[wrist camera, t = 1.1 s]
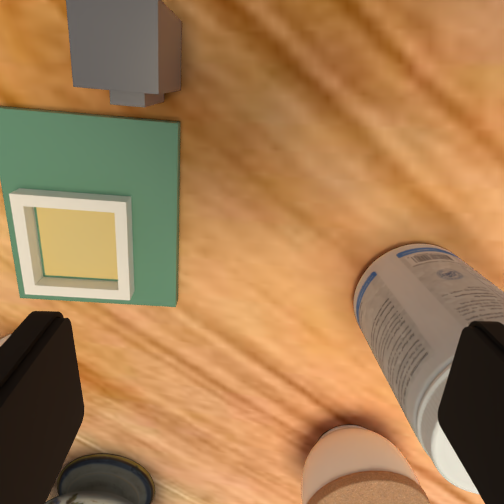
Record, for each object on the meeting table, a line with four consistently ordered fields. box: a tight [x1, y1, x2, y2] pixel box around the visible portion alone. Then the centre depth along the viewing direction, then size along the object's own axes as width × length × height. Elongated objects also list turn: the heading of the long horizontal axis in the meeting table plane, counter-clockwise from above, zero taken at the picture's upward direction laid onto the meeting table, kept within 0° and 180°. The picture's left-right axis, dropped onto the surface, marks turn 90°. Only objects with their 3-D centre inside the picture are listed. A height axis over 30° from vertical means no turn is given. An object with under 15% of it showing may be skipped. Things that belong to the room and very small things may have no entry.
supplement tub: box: [354, 244, 504, 494], centre depth 26 cm, size 10×10×15 cm
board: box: [0, 106, 180, 307], centre depth 28 cm, size 14×12×3 cm
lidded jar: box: [301, 425, 430, 504], centre depth 36 cm, size 11×11×9 cm
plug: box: [66, 0, 182, 107], centre depth 22 cm, size 5×4×8 cm
